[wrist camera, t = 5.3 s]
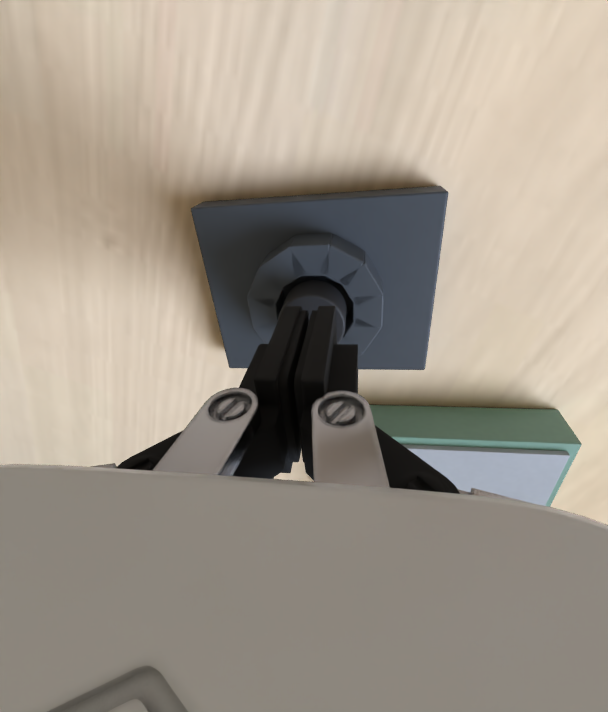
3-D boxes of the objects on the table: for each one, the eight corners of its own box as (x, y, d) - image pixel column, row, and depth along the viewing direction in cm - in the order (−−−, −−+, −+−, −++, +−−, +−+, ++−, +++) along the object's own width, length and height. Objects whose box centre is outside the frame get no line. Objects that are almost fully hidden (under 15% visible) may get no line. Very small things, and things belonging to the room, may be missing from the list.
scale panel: (441, 185, 14) (459, 199, 11) (420, 354, 18) (430, 391, 16) (202, 201, 15) (172, 216, 13) (236, 354, 20) (219, 387, 17)
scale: (557, 409, 19) (585, 448, 17) (509, 524, 25) (524, 565, 23) (353, 404, 21) (352, 439, 18) (353, 513, 27) (353, 550, 24)
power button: (346, 278, 14) (344, 294, 12) (347, 335, 15) (345, 355, 14) (281, 280, 14) (273, 295, 13) (288, 335, 15) (281, 355, 14)
